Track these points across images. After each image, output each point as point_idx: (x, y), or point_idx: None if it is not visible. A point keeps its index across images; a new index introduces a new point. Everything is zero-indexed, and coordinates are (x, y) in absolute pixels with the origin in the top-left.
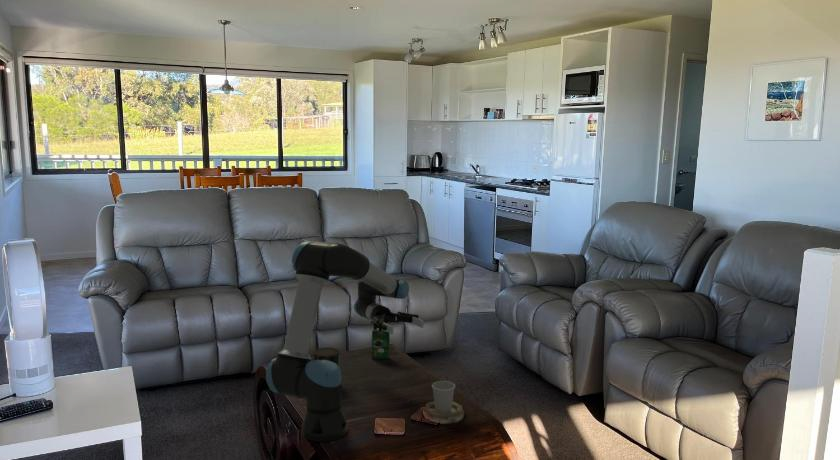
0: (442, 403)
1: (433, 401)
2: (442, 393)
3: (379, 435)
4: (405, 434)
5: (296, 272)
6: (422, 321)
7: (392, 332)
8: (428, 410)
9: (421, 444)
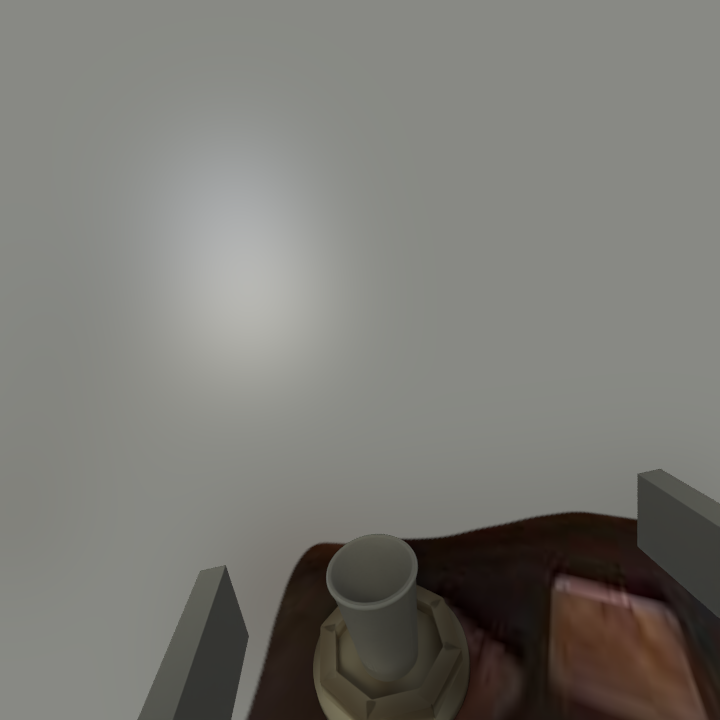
0: (399, 585)
1: (396, 712)
2: (395, 550)
3: (645, 588)
4: (551, 572)
5: None
6: (217, 573)
7: (647, 531)
8: (447, 634)
9: (509, 524)
